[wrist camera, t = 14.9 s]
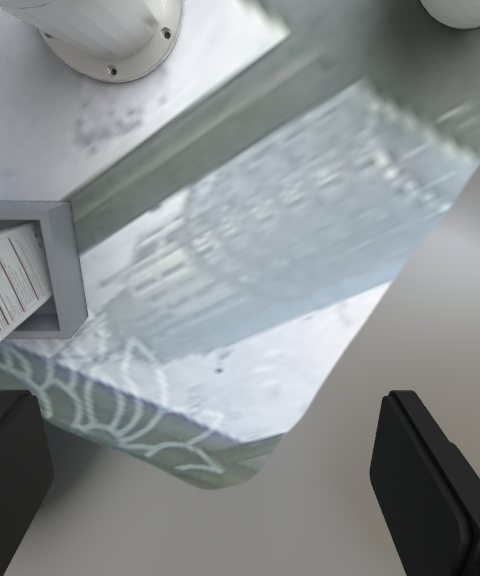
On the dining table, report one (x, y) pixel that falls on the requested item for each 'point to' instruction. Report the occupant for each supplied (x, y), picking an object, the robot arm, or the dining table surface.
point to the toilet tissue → (455, 12)
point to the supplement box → (22, 275)
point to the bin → (52, 268)
